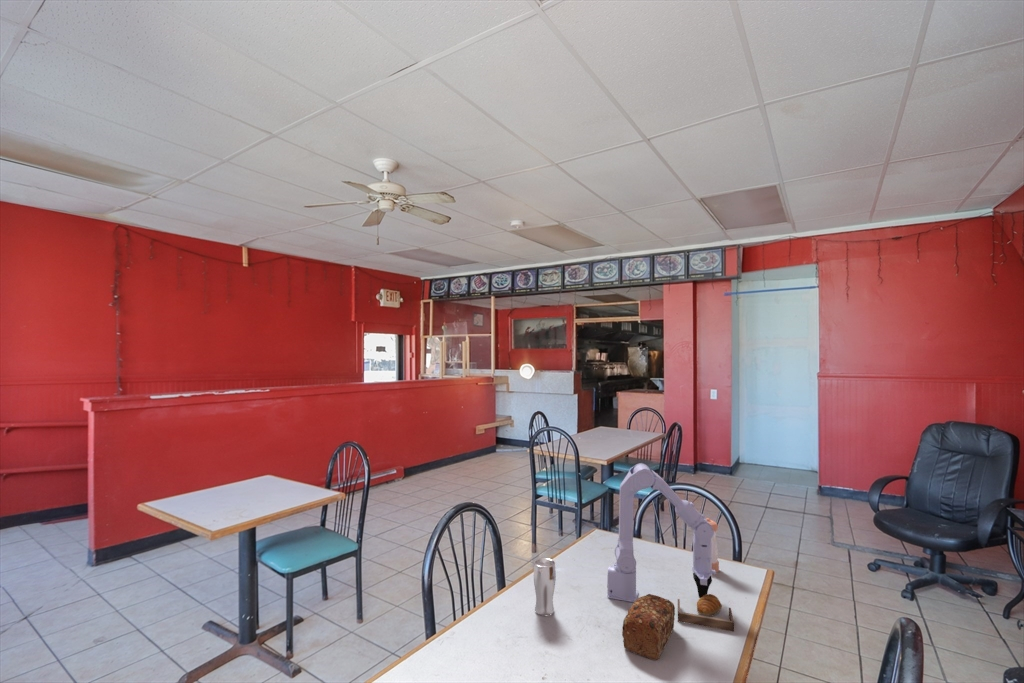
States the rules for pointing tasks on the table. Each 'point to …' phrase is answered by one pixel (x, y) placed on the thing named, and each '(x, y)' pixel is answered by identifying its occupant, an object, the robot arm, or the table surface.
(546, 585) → the beer glass
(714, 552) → the pepper shaker
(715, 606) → the pastry
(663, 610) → the bread
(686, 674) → the table surface
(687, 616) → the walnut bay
